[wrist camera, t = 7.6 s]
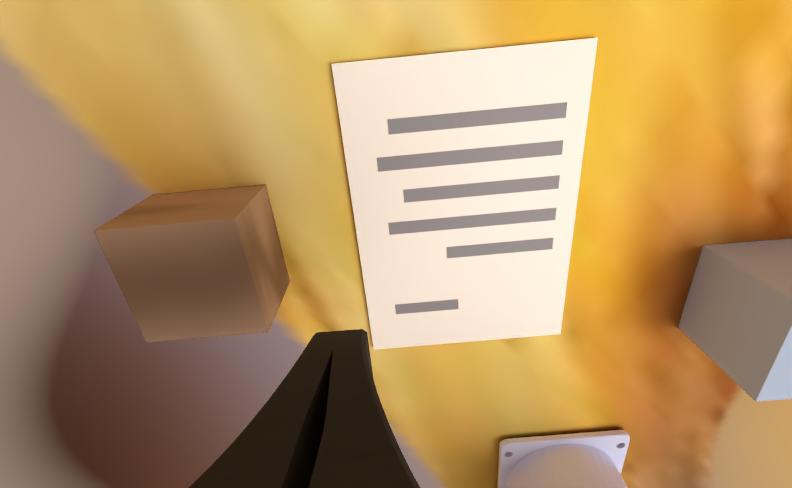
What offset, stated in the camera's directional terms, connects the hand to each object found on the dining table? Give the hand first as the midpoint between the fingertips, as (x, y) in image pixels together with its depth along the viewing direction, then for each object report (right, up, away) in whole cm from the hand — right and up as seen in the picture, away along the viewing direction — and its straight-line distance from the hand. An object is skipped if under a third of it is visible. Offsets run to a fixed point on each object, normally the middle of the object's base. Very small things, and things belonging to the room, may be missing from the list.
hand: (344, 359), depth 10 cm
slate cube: (+19, +1, +9) cm, 21 cm away
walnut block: (-7, +3, +8) cm, 11 cm away
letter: (+5, +4, +7) cm, 10 cm away
